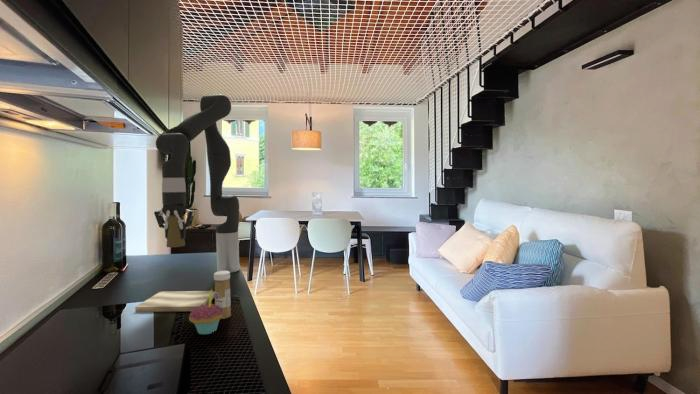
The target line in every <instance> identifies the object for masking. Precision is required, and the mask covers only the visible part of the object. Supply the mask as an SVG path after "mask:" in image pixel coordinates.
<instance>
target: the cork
mask: <svg viewBox="0 0 700 394" xmlns="http://www.w3.org/2000/svg"><path fill="white" fill-rule="evenodd" d="M178 220H179V219H178V218H177V217H176V216H175V215H170V216H169V217H168V218H167V222H168V224H169V227H168V236H167V238H166V245H165V246H166V248H181V247H185V246H186V241H185V239H184V238H183V240H181V236H180V227H179V223H178ZM181 220H183V218H181Z"/></svg>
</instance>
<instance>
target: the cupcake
mask: <svg viewBox="0 0 700 394" xmlns="http://www.w3.org/2000/svg"><path fill="white" fill-rule="evenodd" d="M209 291H210V296H209V303H208V304H207V305H200V306H197V307H196V308H195V309H193V310H192V311H190V313H189V317H188V320H189V322H190V323H193V324H194V326H195V328H196V332H197V333H198V334H199V335H210V334H213V333H215V332H216V331H217V329H218V326H219V324H220V323H219V322H220V320H221V319H220V318H222V315H223V310H222V309H221V307H219V306H217V305H215V303H212V301H213V299H212V292H213V291H214V290H213V288H211V289H210V290H209ZM214 331H215V332H214ZM212 332H213V333H212Z"/></svg>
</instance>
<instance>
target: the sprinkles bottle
mask: <svg viewBox="0 0 700 394" xmlns="http://www.w3.org/2000/svg"><path fill="white" fill-rule="evenodd" d="M230 279H231V273H230V272H229V271H218V272H217V271H215V272H214V273H213V281H214V291H215V298H214V305H217V306H219V307H221V309H222V310H223V315H222V318H220V320H225V319H228V318H230V317H231V316H232V312H231V311H232V309H231V281H230Z"/></svg>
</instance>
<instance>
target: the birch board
mask: <svg viewBox="0 0 700 394" xmlns="http://www.w3.org/2000/svg"><path fill="white" fill-rule="evenodd" d="M210 291H211V290H202V291H201V290H190V291H189V290H185V291H184V290H179V291H176V290H175V291H174V290H173V291H171V290H170V291H165V290H163V291H158V292H157V293H156V294H154V295H152V296H151V297H149V298H147V299H146V300H144V301H143V302H140V303H139V304H138V305H136V306H134V308H135V312H136V313H138V312H139V313H141V312H142V313H144V312H147V313H148V312H157V313H158V312H192V310H193V309H195V308H196V307H197V306H200V305H207V304H209V296H210ZM212 291H213V292H212V300H213V299H214V300H215V290H212Z"/></svg>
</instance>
